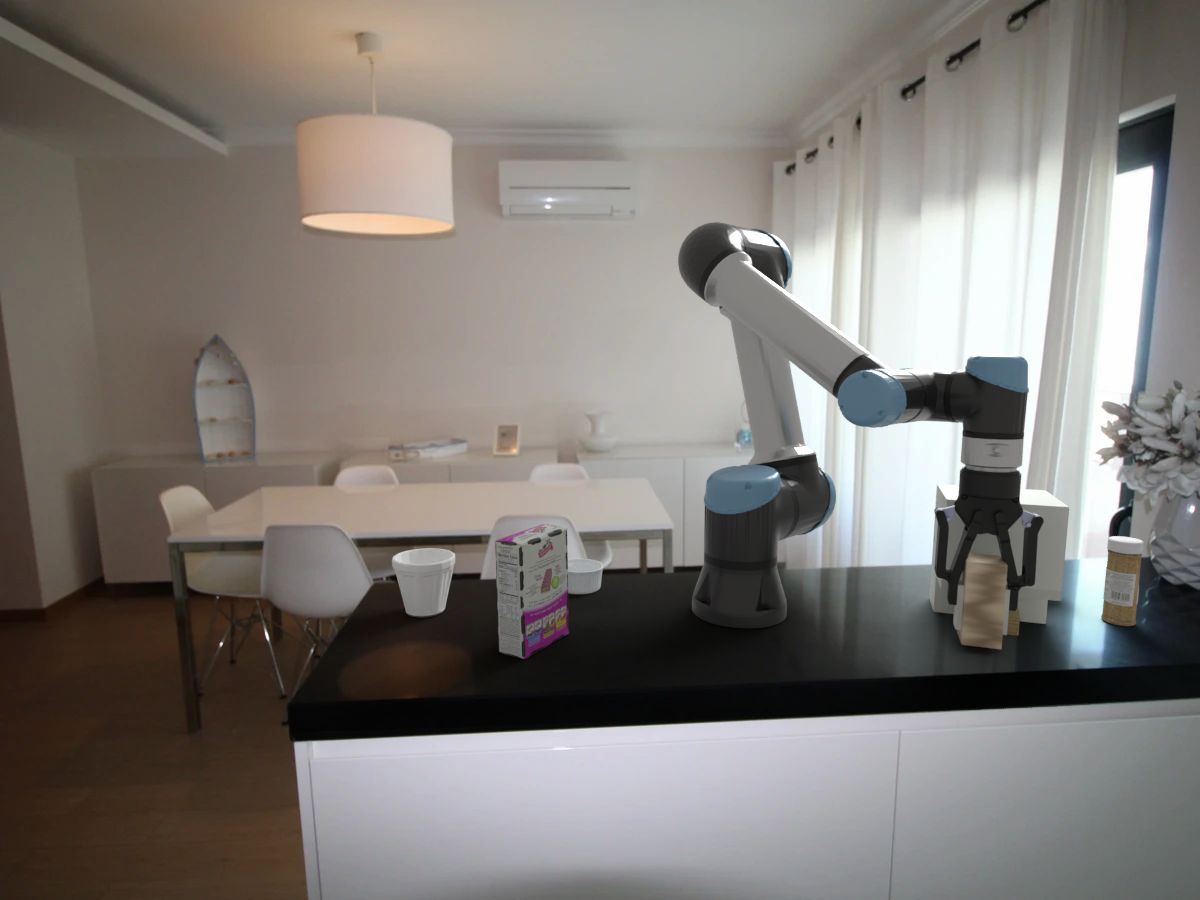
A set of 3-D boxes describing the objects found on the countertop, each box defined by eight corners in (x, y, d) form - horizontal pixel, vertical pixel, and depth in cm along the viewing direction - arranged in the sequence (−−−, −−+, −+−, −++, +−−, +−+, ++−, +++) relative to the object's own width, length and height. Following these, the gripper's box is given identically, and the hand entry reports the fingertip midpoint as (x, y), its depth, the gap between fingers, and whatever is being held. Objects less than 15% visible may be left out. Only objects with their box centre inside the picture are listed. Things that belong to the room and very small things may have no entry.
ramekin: (574, 577, 136) (574, 555, 136) (613, 586, 131) (613, 563, 131) (543, 589, 129) (543, 566, 129) (583, 599, 124) (583, 575, 124)
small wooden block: (980, 631, 111) (982, 612, 110) (980, 620, 115) (981, 602, 115) (1018, 637, 109) (1019, 618, 108) (1016, 626, 113) (1018, 607, 113)
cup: (381, 611, 117) (379, 556, 116) (433, 597, 125) (432, 544, 123) (416, 627, 111) (414, 569, 109) (469, 611, 118) (468, 555, 117)
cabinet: (938, 626, 112) (946, 499, 109) (929, 598, 125) (936, 484, 122) (1057, 640, 107) (1069, 507, 104) (1035, 609, 120) (1045, 490, 117)
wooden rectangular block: (961, 644, 102) (966, 561, 101) (948, 609, 116) (953, 536, 115) (1001, 649, 100) (1007, 565, 99) (983, 613, 115) (988, 539, 113)
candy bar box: (542, 627, 111) (542, 523, 109) (570, 634, 108) (569, 527, 106) (495, 652, 101) (493, 538, 99) (523, 661, 99) (522, 543, 97)
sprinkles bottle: (1140, 623, 114) (1149, 539, 112) (1128, 629, 111) (1136, 543, 109) (1107, 614, 117) (1115, 533, 116) (1094, 620, 115) (1102, 537, 113)
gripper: (921, 468, 100) (912, 630, 103) (1073, 475, 94) (1059, 647, 97) (917, 460, 107) (909, 612, 110) (1058, 467, 101) (1045, 627, 104)
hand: (979, 628), depth 103 cm, fingers closed on wooden rectangular block, 5 cm apart
